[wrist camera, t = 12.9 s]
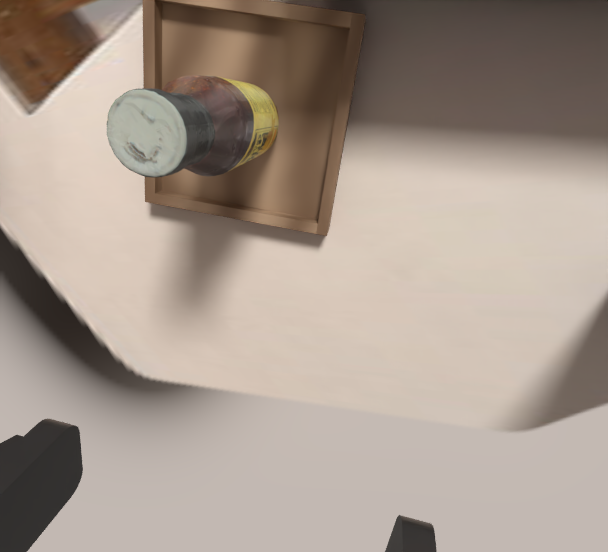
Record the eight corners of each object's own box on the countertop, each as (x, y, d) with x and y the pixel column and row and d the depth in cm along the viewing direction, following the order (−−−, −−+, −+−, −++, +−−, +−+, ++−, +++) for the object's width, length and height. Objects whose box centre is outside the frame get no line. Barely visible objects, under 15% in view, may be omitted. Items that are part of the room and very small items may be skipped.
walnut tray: (365, 19, 34) (365, 14, 32) (328, 229, 42) (326, 235, 40) (155, -11, 36) (142, -18, 34) (155, 196, 43) (145, 201, 41)
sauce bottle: (233, 166, 40) (116, 224, 22) (203, 99, 38) (47, 103, 20) (296, 139, 38) (225, 178, 20) (268, 68, 36) (161, 40, 18)
